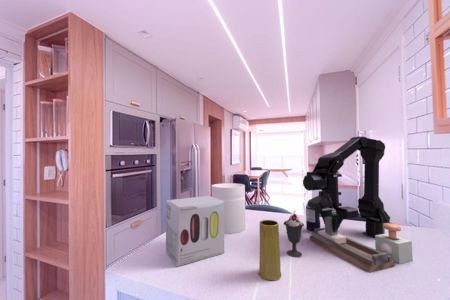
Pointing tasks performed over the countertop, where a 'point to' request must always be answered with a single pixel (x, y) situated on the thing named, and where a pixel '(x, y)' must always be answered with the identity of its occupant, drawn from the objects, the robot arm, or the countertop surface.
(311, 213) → the beverage can
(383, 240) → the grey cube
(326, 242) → the rail
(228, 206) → the canister
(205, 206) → the supplement box
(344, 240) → the carriage
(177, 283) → the countertop surface
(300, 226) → the sundae
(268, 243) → the vase
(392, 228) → the button
